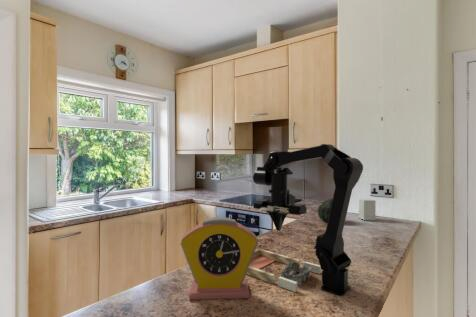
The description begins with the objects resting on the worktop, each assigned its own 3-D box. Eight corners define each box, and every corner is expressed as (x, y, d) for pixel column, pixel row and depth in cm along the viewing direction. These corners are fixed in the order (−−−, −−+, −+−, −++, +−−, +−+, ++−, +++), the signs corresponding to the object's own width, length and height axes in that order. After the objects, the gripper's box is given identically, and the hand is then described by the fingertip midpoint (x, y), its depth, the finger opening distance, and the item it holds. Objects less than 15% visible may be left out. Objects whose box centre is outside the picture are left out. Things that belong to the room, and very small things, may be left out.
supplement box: (375, 221, 168) (376, 200, 168) (363, 221, 168) (363, 200, 168) (370, 218, 176) (370, 198, 175) (358, 218, 176) (358, 198, 176)
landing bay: (321, 273, 94) (321, 265, 94) (295, 292, 80) (295, 283, 80) (304, 268, 98) (304, 261, 98) (277, 285, 84) (278, 277, 84)
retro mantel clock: (179, 300, 76) (178, 222, 75) (183, 284, 85) (183, 215, 85) (258, 298, 77) (259, 221, 77) (255, 283, 86) (255, 214, 86)
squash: (324, 208, 180) (319, 192, 171) (348, 212, 171) (344, 196, 163) (318, 226, 171) (312, 210, 163) (342, 231, 163) (338, 215, 154)
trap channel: (299, 266, 99) (299, 259, 99) (272, 283, 86) (272, 275, 86) (258, 254, 111) (258, 248, 111) (229, 267, 98) (229, 260, 98)
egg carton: (293, 270, 96) (293, 258, 96) (313, 276, 92) (313, 264, 92) (276, 280, 88) (276, 268, 88) (297, 288, 84) (297, 274, 83)
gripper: (313, 186, 98) (313, 230, 99) (269, 183, 110) (268, 222, 110) (299, 189, 90) (298, 237, 90) (252, 185, 102) (252, 227, 102)
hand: (278, 230), depth 98 cm, fingers closed
